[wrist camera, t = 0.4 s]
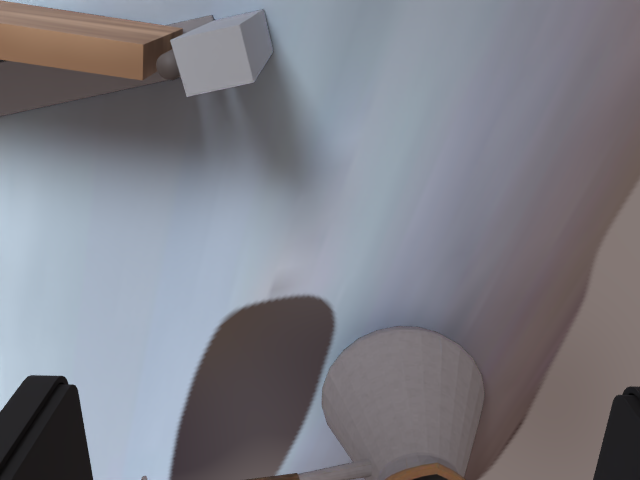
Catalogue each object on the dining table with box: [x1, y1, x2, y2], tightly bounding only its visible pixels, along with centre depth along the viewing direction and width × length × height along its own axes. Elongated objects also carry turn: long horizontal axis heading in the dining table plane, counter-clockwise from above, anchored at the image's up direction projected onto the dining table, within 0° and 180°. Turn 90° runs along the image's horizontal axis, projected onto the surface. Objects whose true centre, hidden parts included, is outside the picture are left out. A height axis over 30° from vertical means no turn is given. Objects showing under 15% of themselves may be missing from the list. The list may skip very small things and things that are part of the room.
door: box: [0, 1, 183, 80], centre depth 31 cm, size 2×19×8 cm, turn 82°
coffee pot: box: [141, 326, 485, 480], centre depth 38 cm, size 21×12×15 cm, turn 81°
